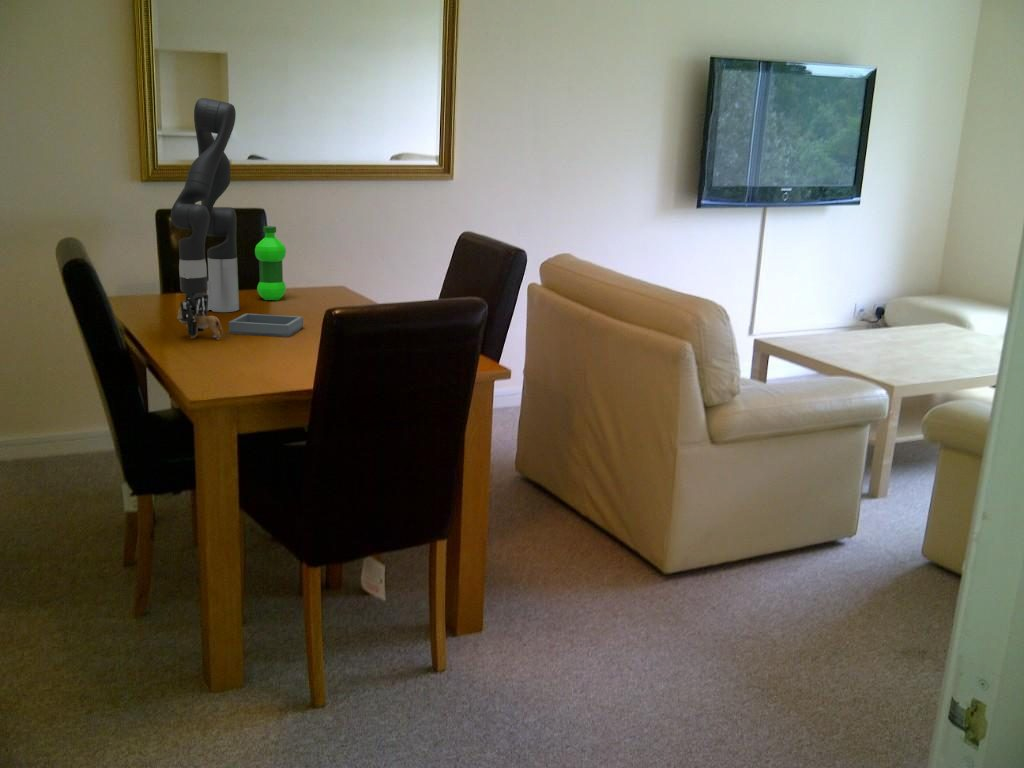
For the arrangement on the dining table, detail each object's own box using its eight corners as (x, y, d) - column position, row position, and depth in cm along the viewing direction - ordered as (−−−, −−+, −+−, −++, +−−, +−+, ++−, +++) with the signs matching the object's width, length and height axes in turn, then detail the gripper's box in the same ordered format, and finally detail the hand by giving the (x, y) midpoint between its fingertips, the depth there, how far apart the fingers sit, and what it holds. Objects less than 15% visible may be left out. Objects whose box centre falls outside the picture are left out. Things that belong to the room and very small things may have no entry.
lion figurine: (175, 338, 298) (174, 308, 295) (182, 335, 303) (180, 304, 300) (226, 341, 297) (225, 310, 295) (232, 337, 302) (230, 306, 300)
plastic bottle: (253, 297, 362) (251, 225, 355) (283, 296, 366) (281, 224, 359) (259, 302, 353) (257, 229, 346) (290, 301, 357) (288, 228, 351)
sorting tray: (229, 333, 306) (228, 322, 305) (246, 324, 319) (245, 313, 318) (288, 337, 304) (288, 325, 303) (303, 328, 317) (303, 316, 316)
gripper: (191, 270, 303) (194, 327, 307) (169, 278, 289) (172, 337, 293) (216, 271, 302) (218, 328, 306) (195, 279, 288) (198, 339, 292)
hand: (196, 332), depth 300 cm, fingers closed on lion figurine, 4 cm apart
